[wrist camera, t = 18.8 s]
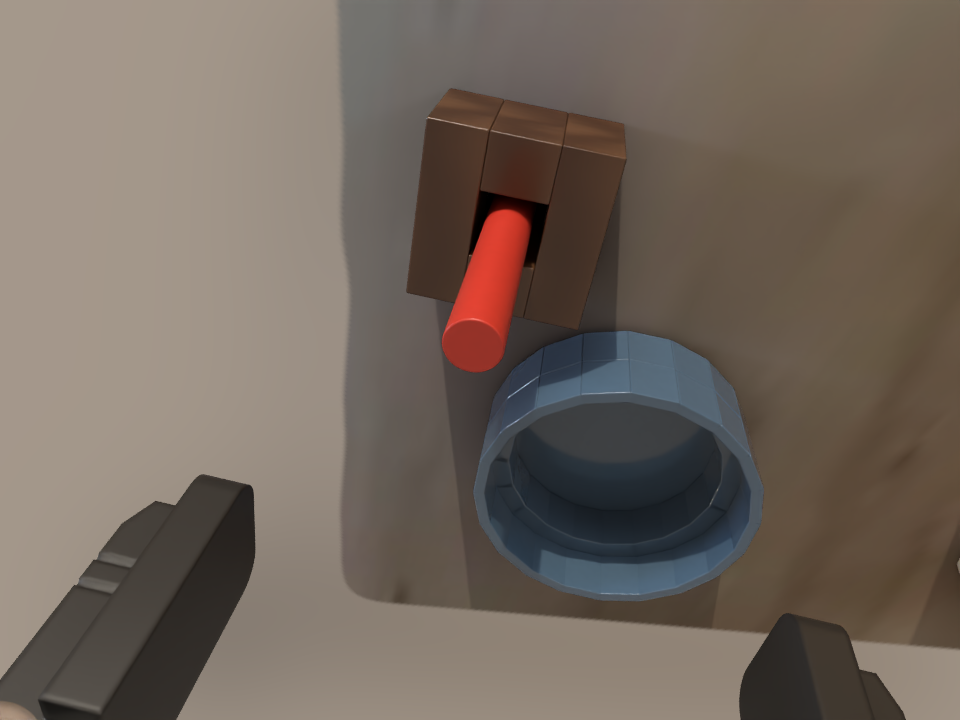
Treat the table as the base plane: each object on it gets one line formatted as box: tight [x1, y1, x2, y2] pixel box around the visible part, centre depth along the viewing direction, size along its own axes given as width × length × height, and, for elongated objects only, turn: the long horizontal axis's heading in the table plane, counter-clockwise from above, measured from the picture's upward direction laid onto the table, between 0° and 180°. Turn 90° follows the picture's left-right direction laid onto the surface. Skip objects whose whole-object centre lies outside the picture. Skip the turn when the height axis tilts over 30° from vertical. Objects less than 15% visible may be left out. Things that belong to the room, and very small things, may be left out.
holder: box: [406, 88, 627, 330], centre depth 32 cm, size 8×8×5 cm
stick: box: [442, 194, 537, 372], centre depth 28 cm, size 2×2×14 cm
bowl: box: [473, 331, 764, 601], centre depth 38 cm, size 14×14×6 cm
